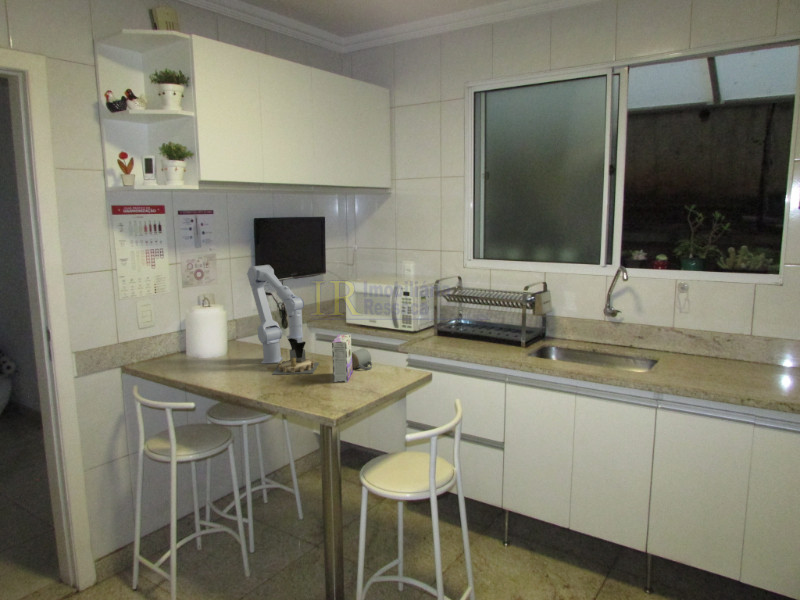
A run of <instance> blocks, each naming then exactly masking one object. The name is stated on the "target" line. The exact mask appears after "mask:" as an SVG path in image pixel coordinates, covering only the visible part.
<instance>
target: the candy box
mask: <svg viewBox="0 0 800 600" xmlns="http://www.w3.org/2000/svg"><path fill="white" fill-rule="evenodd" d="M331 347H332V348H331V350H332V352H331V353H332V372H333V373H332V374H333V383H349V381H350V378H351V377H352V374H353V373H354V372H353V371H354V369H353V368H352V352H353V351H352V335H351V334H337V335H336V337H334V339H333V340H332V342H331Z"/></svg>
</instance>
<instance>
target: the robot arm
mask: <svg viewBox="0 0 800 600" xmlns="http://www.w3.org/2000/svg"><path fill="white" fill-rule="evenodd" d="M246 275H247V278H248V279H247V280H248V281H249V285H250V288H251V291H252V295H253V298H254V302H255V306H256V309H257V313H258V317H259V320H260V324H259V325H258V327H257V328H256V330H257V338H258V340H259V341H260V343H261V344H262V353H263V354H262V355H263V357H262V358H263V360H262V361H261V362H260V364H279V363H280V362H282V361H283V359H284V356H282V354H281V351H282V350H281V344H280V342H281V339H282V338H283V330H282V329H281V327H280V325H279V323H278V321H276V320H274V318H273V316H272V312H271V309H270V305H269V301H268V297H267V294H266V291H265V286H266V284H269V285H270V286H271V287H272V288H273V289H274V290H276V295H277V297H278V298H279V299H280V300H281V301H282V302H283V303H284V308H285V310H286V314H287V317H288V329H289V330H288V331H289V334H288V335H286V338H287V340H288V342H289V345H290V347H291V349H295V353H296V357H297V358H302V354H303V349H305V346H306V341H303V338H304V331H303V314H302V313H303V309H304V308H305V302H304V299H303V298H302V296H298V295H295V293H294V292H293V291H292V290H291V289H290V287H289V286H287V285H283V284H282V283H281V280H280V279H278V277H277V276H276V275H275V270H274V268H273V267H272V266H271V265H270V264H264V265H252V266H250V267H249V268H248V271H247V273H246Z"/></svg>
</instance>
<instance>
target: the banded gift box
mask: <svg viewBox="0 0 800 600" xmlns="http://www.w3.org/2000/svg"><path fill="white" fill-rule="evenodd" d="M291 358H296V362H304V361H306V359H307V358H306V349H305V348H303V354H302V358H297V357H296V353H295V349H292V348H291V349H289V360H290V361H291Z"/></svg>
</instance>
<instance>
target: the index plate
mask: <svg viewBox="0 0 800 600" xmlns="http://www.w3.org/2000/svg"><path fill="white" fill-rule="evenodd" d="M319 365H320V362H314V368H311V370H305V371H303V372H300V371H299V372H294V373H291V372H283V371H279V366H277V367H276V369H275V370H274V371H273V372H272V373H271V375H272V376H280V375H283V376H284V375H286V376H287V375H312V374H314V373H315V371H316V370H317V367H318V366H319Z"/></svg>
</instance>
